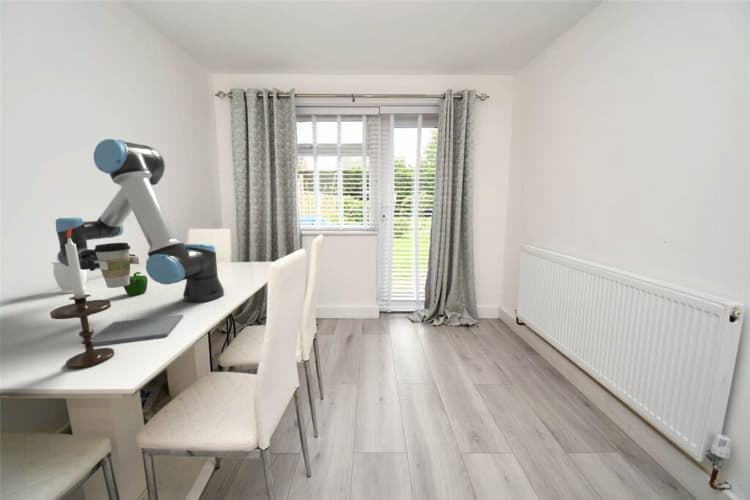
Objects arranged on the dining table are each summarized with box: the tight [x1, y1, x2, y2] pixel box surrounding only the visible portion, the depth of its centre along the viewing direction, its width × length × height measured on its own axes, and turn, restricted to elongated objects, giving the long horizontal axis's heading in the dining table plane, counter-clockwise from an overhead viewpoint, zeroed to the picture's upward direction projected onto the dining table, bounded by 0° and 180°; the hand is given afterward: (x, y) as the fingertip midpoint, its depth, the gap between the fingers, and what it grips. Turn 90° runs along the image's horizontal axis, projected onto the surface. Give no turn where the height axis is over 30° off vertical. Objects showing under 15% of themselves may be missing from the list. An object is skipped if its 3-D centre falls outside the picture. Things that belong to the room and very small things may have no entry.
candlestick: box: [49, 226, 115, 370], centre depth 74 cm, size 11×11×35 cm
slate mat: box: [92, 314, 184, 347], centre depth 94 cm, size 20×16×1 cm
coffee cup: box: [93, 242, 131, 289], centre depth 105 cm, size 10×10×15 cm
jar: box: [51, 259, 87, 294], centre depth 135 cm, size 11×10×15 cm
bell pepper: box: [122, 271, 148, 296], centre depth 131 cm, size 8×8×10 cm
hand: (122, 263), depth 103 cm, fingers closed on coffee cup, 9 cm apart
